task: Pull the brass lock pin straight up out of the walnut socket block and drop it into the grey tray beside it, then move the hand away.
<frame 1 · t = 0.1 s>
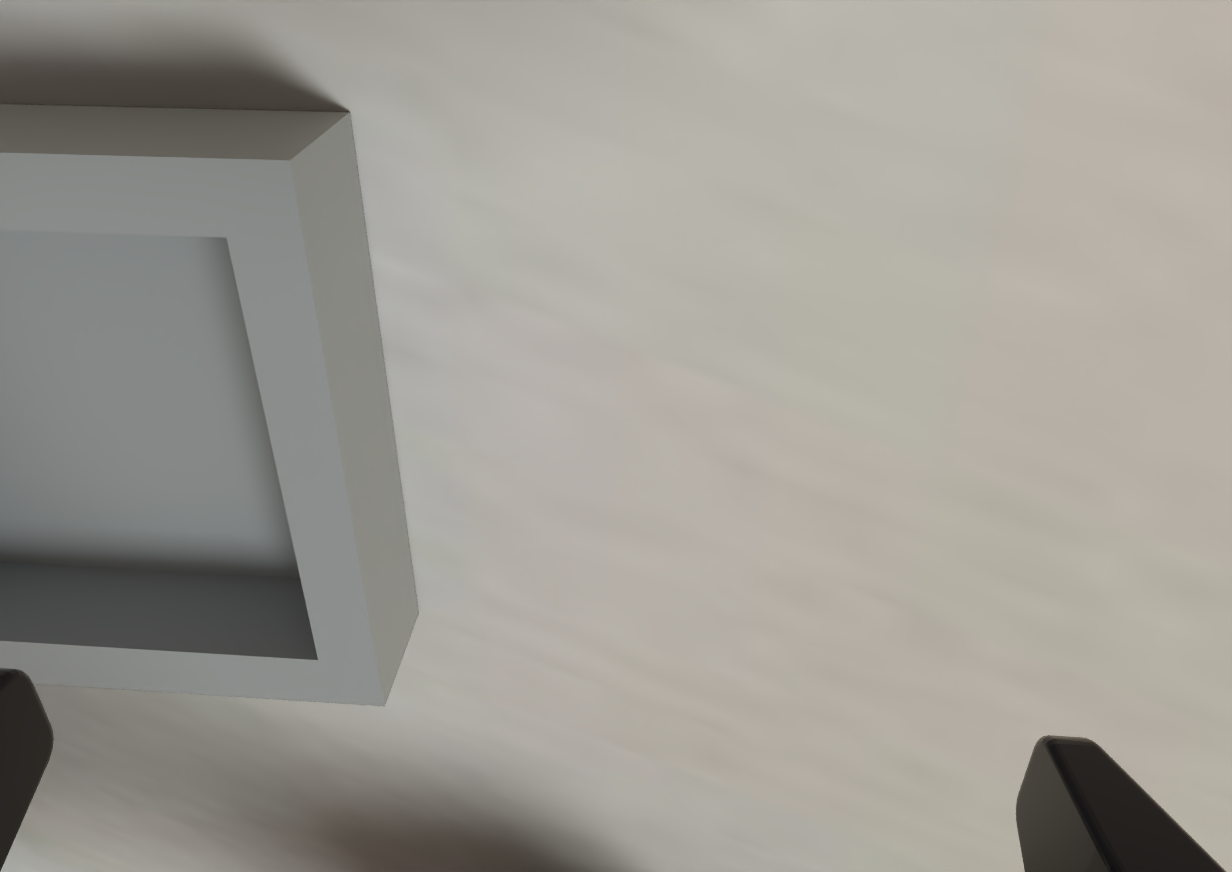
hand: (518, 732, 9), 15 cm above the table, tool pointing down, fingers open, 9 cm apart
grey tray: (117, 389, 25), on the table
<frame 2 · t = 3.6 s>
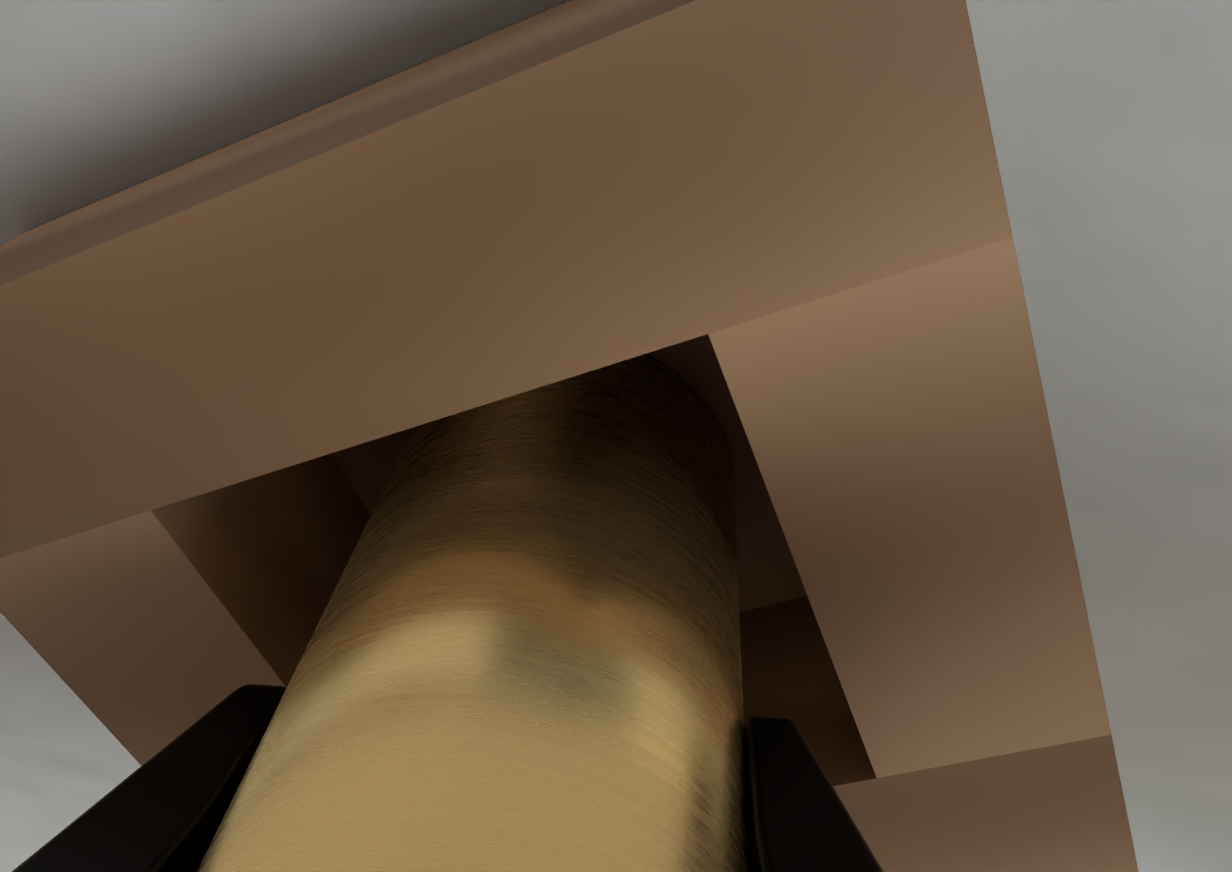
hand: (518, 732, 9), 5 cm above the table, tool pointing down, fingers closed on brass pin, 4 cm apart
brass pin: (571, 479, 12), resting on walnut socket block, touching gripper
walnut socket block: (575, 457, 13), on the table
when the fingers open (6 cm above the table, at t = 8.4 s): brass pin drops 2 cm, resting on grey tray.
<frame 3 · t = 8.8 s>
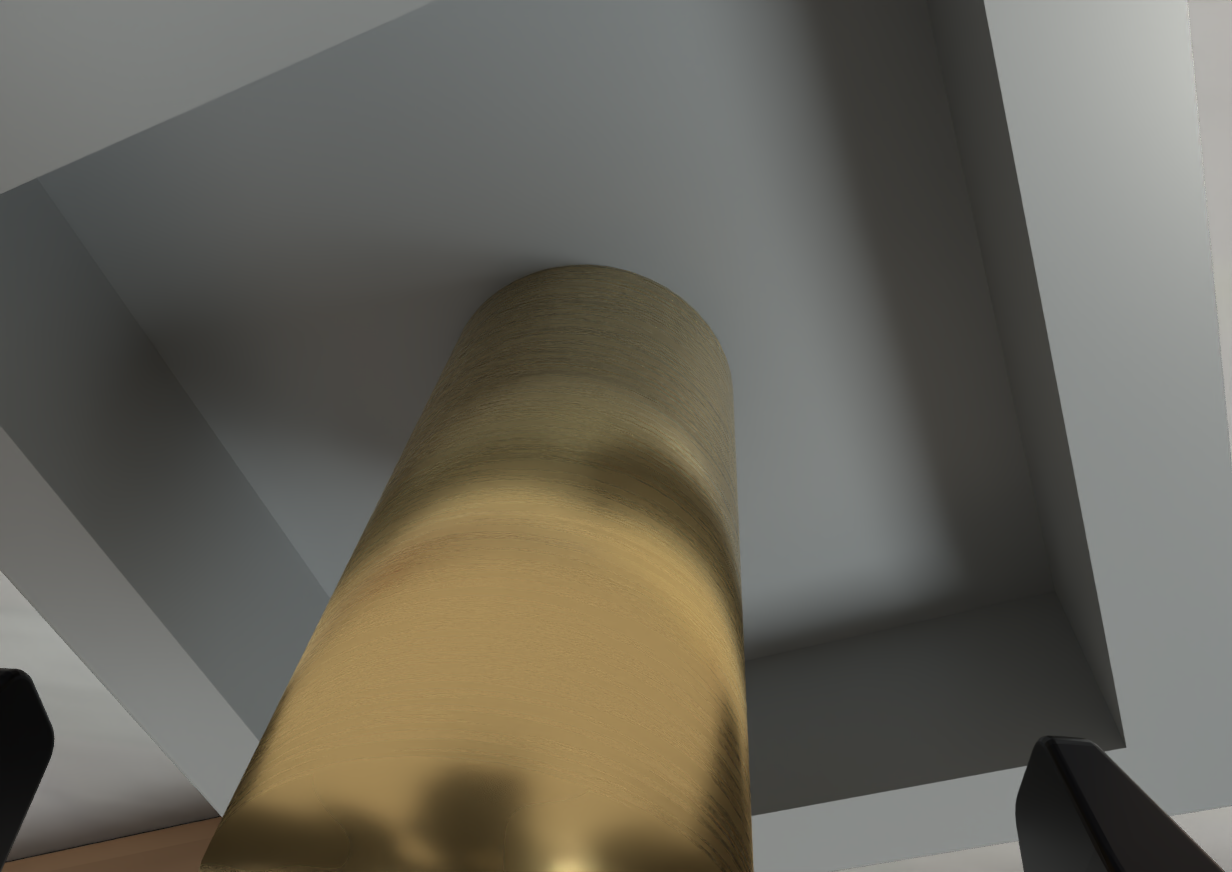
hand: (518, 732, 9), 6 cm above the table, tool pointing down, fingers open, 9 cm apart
brass pin: (590, 398, 14), point 1 cm above the table, touching grey tray
grey tray: (589, 380, 14), on the table
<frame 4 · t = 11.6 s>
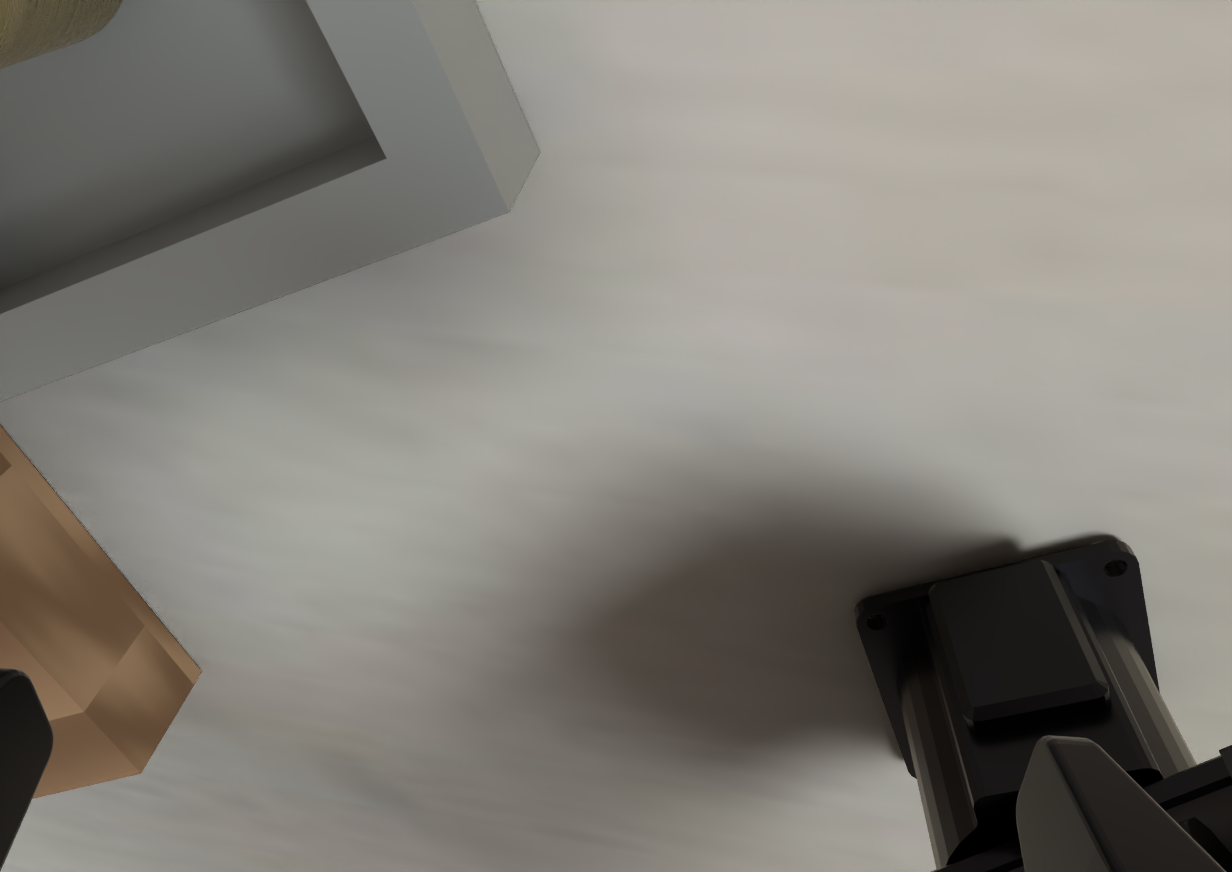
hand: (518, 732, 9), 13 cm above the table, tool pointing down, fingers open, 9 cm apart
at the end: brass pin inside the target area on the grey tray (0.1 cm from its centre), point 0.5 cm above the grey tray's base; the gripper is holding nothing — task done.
